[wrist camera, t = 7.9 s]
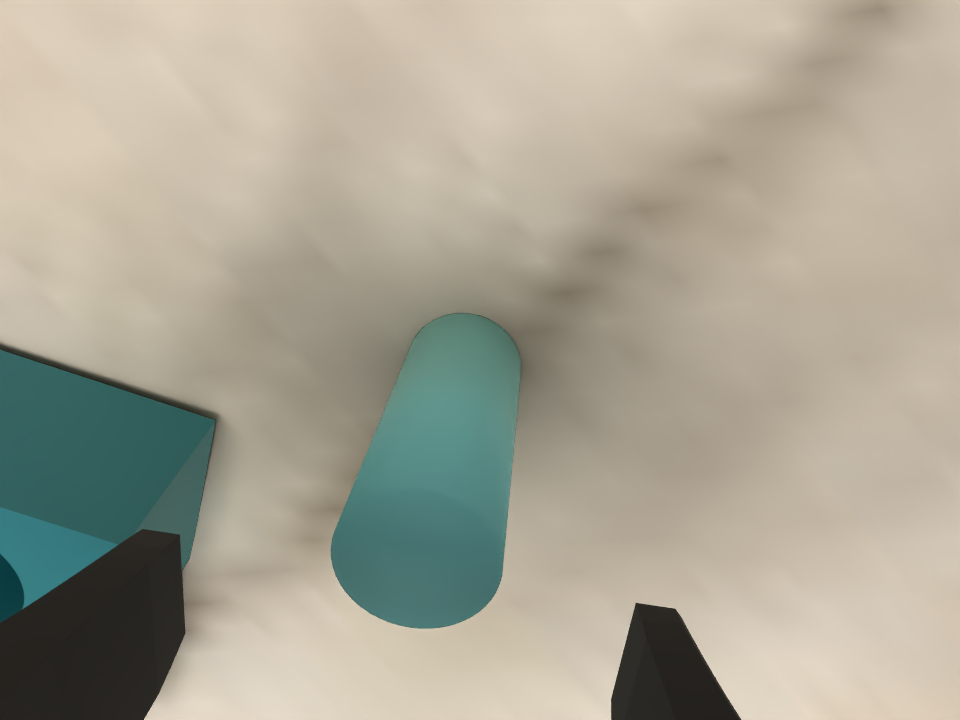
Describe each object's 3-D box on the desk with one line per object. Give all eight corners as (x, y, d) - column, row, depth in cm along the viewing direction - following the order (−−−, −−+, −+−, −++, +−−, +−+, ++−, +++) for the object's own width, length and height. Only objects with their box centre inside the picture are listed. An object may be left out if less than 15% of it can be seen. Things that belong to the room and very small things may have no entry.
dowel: (528, 321, 20) (513, 502, 13) (512, 423, 22) (491, 639, 14) (412, 305, 20) (334, 476, 13) (403, 407, 22) (327, 615, 15)
